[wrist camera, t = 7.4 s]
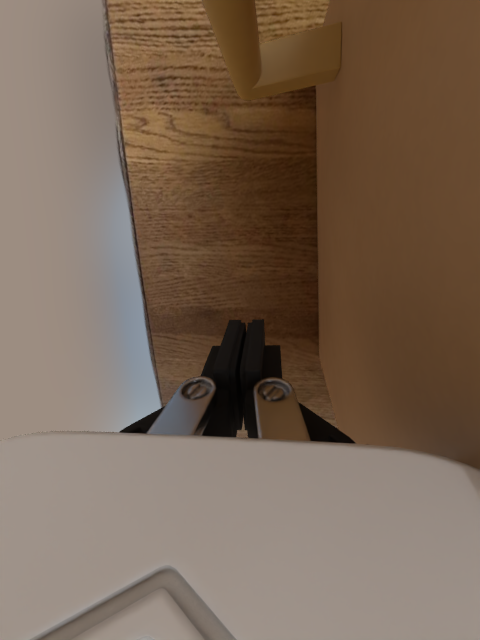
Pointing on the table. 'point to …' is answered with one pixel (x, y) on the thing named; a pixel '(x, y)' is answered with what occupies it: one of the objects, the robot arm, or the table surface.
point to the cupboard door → (388, 207)
